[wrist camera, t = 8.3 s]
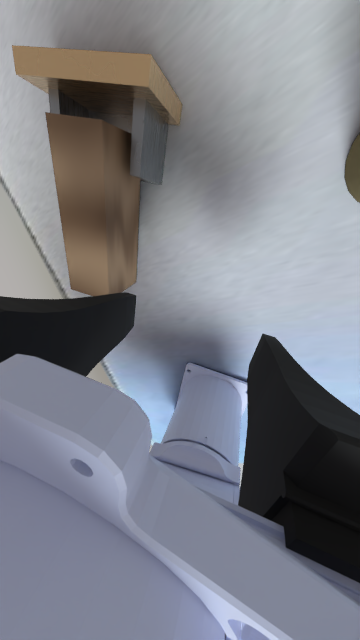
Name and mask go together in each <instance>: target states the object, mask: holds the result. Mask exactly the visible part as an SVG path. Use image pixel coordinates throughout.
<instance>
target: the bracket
mask: <svg viewBox="0 0 360 640" xmlns="http://www.w3.org/2000/svg"><path fill="white" fill-rule="evenodd" d="M12 48H13V56H14V63H15V71H16V74H17V75H18V76H20V77H21V78H23V79H25V80H26V81H28V82H30V83H31V84H33V85H35V86H36V87H38V88H39V89H41V90H43V91H44V92H46V93H48V94H49V103H50V113H54V114H62V115H69V116H77V117H84V118H92V119H99V120H103V121H105V122H107V123H110V124H112V125H114V126H116V127H118V128H120V129H122V130H124V131H127V132H129V133H131V134H132V140H131V159H130V175H131V176H134V177H137V178H140V181H144V182H149V183H154V184H159V185H161V184H162V176H163V167H164V158H165V150H166V141H167V132H168V124H170V125H177V126H179V125H180V117H181V110H182V103H181V102H180V100H179V99H178V97H177V95H176V94H175V92H174V91H173V89H172V87H171V86H170V84H169V83H168V81H167V79H166V78H165V76H164V75H163V73H162V71H161V70H160V68H159V66H158V65H157V63H156V62H155V60H154V58H153V57H152V55H151V54H138V53H122V52H107V51H91V50H75V49H60V48H44V47H29V46H13V45H12Z"/></svg>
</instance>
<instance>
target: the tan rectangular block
mask: <svg viewBox="0 0 360 640" xmlns="http://www.w3.org/2000/svg"><path fill="white" fill-rule="evenodd" d="M45 113H46V120H47V127H48V134H49V141H50V148H51V154H52V161H53V168H54V175H55V182H56V189H57V196H58V202H59V209H60V216H61V223H62V230H63V237H64V244H65V251H66V257H67V264H68V271H69V278H70V285H71V289H72V290H75V291H79V292H82V293H85V294H88V295H91V296H99V295H106V294H114V293H121V292H123V291H124V290H126V289H127V288H129V287H130V286H131V285H133V284H134V283H136V275H137V250H138V224H139V199H140V178H137V177H134V176H131V175H130V159H131V140H132V134H131V133H129V132H127V131H124V130H122V129H120V128H118V127H116V126H114V125H112V124H110V123H107V122H105V121H103V120H99V119H92V118H84V117H77V116H69V115H62V114H54V113H47V112H45Z"/></svg>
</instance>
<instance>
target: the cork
mask: <svg viewBox="0 0 360 640" xmlns="http://www.w3.org/2000/svg"><path fill="white" fill-rule="evenodd" d="M345 181H346V184H347V188H348V191H349V192H350V194H351V195H352V196H353V197H354V198H355V200H356V201H357V202H359V203H360V133H359V135H358V136H357V138H356V139H355V141H354V142H353V144H352V146H351V149H350V151H349V154H348V157H347V159H346V165H345Z"/></svg>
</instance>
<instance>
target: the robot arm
mask: <svg viewBox="0 0 360 640" xmlns="http://www.w3.org/2000/svg"><path fill="white" fill-rule="evenodd" d="M135 305H136V295H133V294H130V293H114V294H106V295H99V296H92V297H83V298H74V299H55V300H54V299H52V300H51V299H50V300H49V299H22V298H11V297H1V296H0V640H360V415H359V414H357V413H356V412H354V411H353V410H351V409H350V408H349V407H347V406H346V405H345V404H343V403H342V402H341V401H339V400H338V399H337V398H335V397H334V396H333V395H331V394H330V393H329V392H328V391H326V390H325V389H324V388H323V387H322V386H321V385H320V384H318V383H317V382H316V381H315V380H314V379H313V378H312V377H311V376H310V375H309V374H308V373H307V372H306V371H305V370H304V369H303V368H302V367H301V366H300V365H299V364H298V363H297V362H296V361H295V360H294V359H293V357H292V356H291V355H290V354H289V353H288V352H287V350H286V349H285V348H284V347H283V346H282V344H281V343H280V342H279V341H278V340H277V339H276V338H275V337H272V336H269V335H265V334H262V336H261V339H260V341H259V343H258V346H257V348H256V350H255V352H254V355H253V357H252V359H251V362H250V364H249V370H248V378H247V382H244V381H242V380H239V379H236V378H233V377H230V376H227V375H224V374H222V373H219V372H216V371H213V370H210V369H207V368H204V367H201V366H199V365H196V364H193V363H187V365H186V368H185V372H184V376H183V380H182V384H181V388H180V392H179V396H178V400H177V404H176V408H175V410H174V413H173V415H172V418H171V420H170V423H169V425H168V427H167V430H166V432H165V435H164V437H163V439H162V442H161V443H154V445H153V447H152V449H151V451H150V453H149V449H150V444H151V438H152V433H151V428H150V423H149V419H148V417H147V415H146V414H145V413H144V411H143V410H142V409H141V407H140V406H139V405H138V404H137V402H136V401H135V400H133V399H132V398H130V397H129V396H127V395H125V394H124V393H122V392H121V391H119V390H117V389H115V388H112V387H110V386H108V385H105V384H102V383H100V382H97V381H95V380H93V379H90V378H88V377H86V376H87V375H88V374H89V372H90V371H91V370H92V369H93V368H94V367H95V366H96V365H97V363H99V362H100V361H101V360H102V359H103V358H104V357H105V356H106V355H107V354H108V353H109V352H110V351H111V350H112V349H113V348H114V347H116V346H117V345H118V344H119V343H120V342H121V341H122V340H123V339H124V338H125V337H126V335H127V334H128V333H129V332H130V330H131V329H132V327H133V326H134V316H135ZM188 369H189V370H191V371H189V370H188ZM247 404H248V427H247V437H246V448H245V456H244V465H243V473H242V481H241V487H240V490H239V485H240V467H238V461H239V445H240V429H241V417H242V414H243V412H244V410H245V408H246V406H247Z"/></svg>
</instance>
